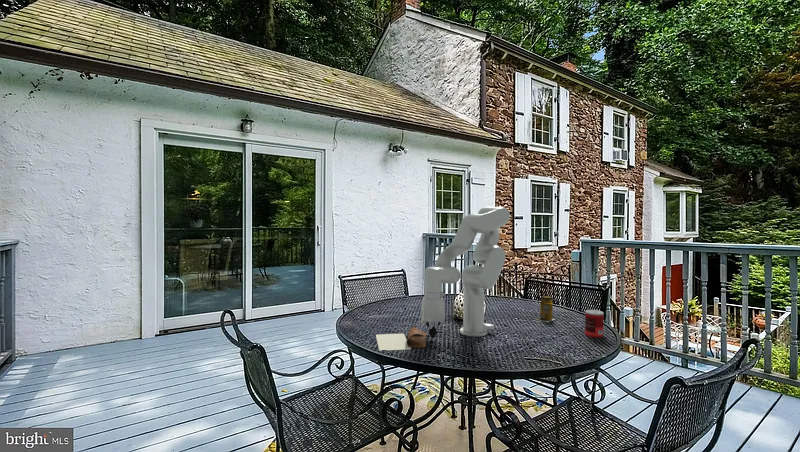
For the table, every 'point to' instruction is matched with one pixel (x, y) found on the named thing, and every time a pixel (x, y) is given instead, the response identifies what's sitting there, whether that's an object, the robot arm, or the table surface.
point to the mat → (392, 342)
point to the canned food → (594, 323)
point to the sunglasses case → (416, 338)
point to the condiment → (546, 309)
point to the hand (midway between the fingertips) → (432, 336)
